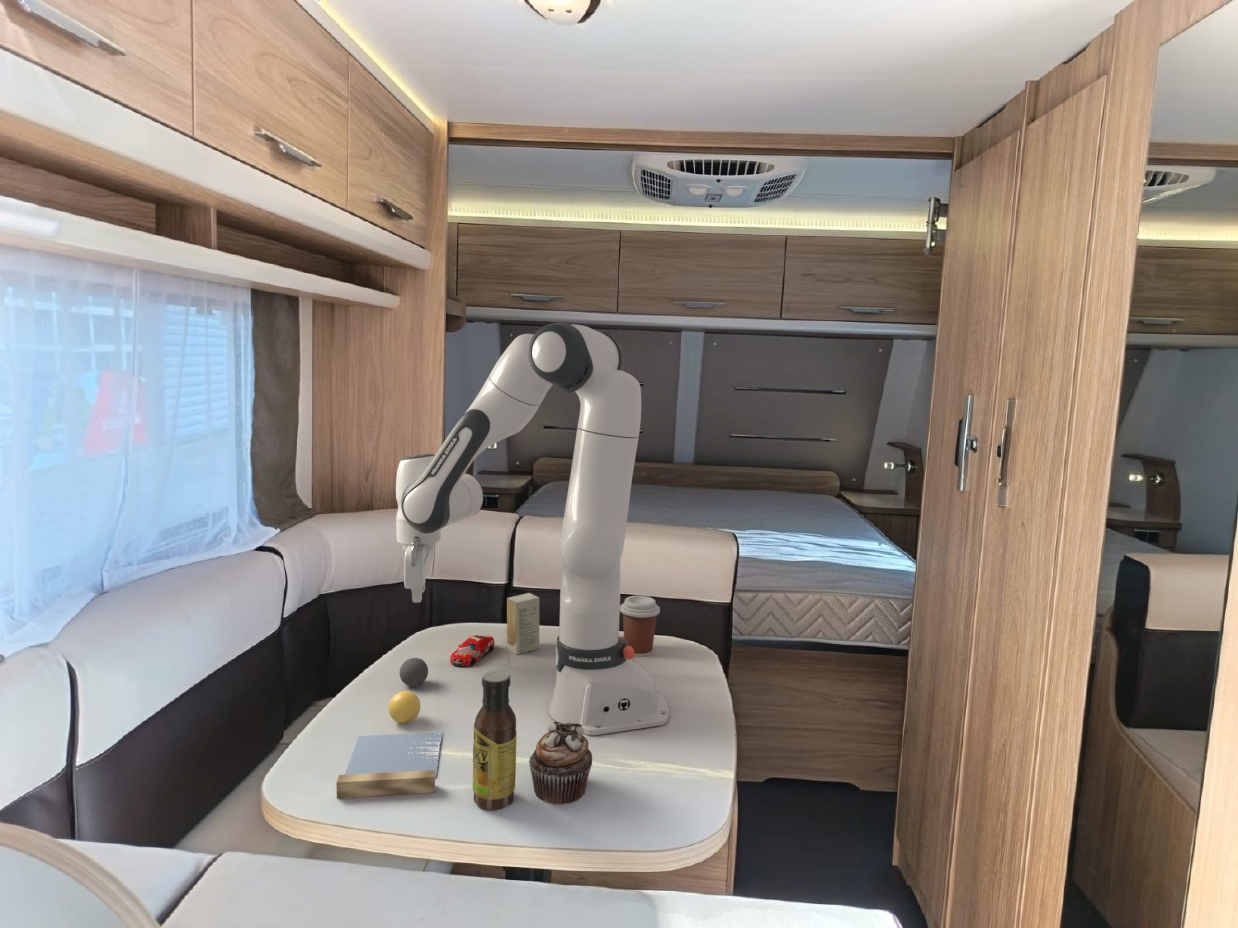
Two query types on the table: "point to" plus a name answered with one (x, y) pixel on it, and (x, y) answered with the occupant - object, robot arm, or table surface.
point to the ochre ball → (404, 707)
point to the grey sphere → (413, 672)
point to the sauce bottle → (494, 744)
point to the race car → (472, 650)
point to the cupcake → (561, 764)
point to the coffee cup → (639, 623)
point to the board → (393, 753)
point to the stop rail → (385, 783)
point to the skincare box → (522, 623)
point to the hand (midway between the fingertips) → (418, 596)
